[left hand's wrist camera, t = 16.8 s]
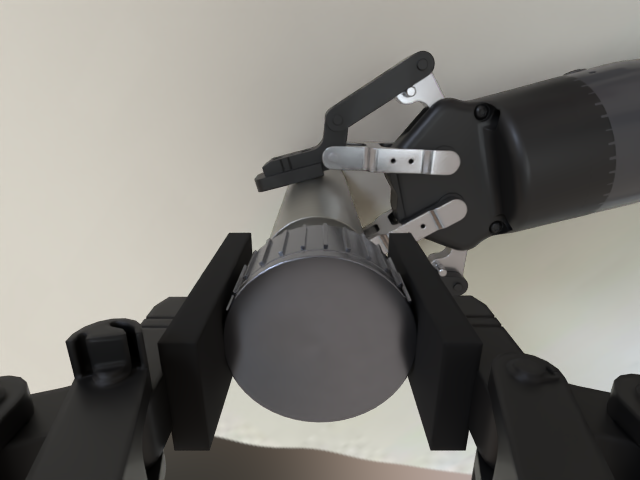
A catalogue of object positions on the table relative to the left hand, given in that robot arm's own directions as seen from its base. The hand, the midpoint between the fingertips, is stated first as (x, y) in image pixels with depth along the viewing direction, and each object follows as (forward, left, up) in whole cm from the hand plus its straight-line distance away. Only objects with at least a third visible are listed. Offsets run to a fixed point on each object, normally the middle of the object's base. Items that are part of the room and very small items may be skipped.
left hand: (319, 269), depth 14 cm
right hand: (+3, -1, -9) cm, 9 cm away
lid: (0, 0, +4) cm, 4 cm away
